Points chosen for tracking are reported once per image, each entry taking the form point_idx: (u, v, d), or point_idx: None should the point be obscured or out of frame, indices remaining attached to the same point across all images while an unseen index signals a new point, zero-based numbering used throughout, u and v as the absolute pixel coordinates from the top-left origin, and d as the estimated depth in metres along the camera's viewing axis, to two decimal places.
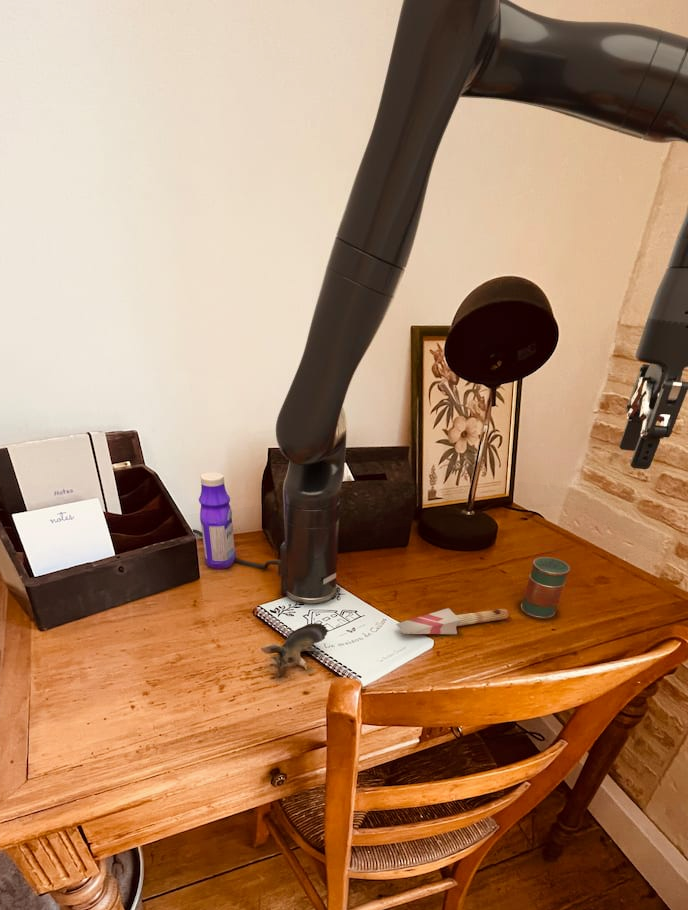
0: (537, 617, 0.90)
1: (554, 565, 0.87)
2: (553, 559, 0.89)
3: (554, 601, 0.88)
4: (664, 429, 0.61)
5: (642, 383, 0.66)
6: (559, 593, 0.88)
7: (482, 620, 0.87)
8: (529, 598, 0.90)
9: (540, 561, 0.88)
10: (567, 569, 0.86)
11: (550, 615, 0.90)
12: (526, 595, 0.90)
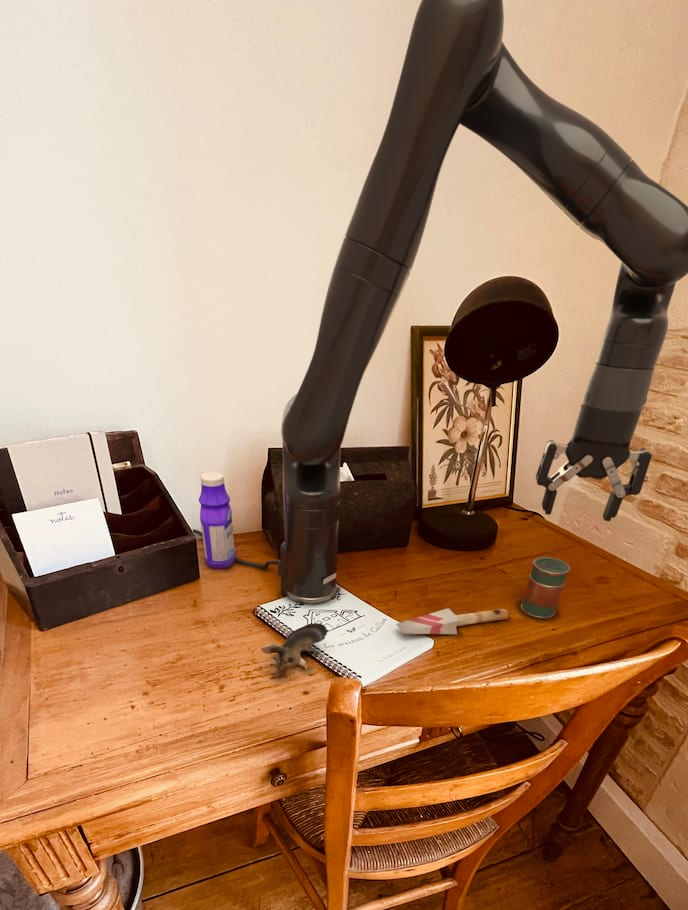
0: (537, 617, 0.90)
1: (554, 565, 0.87)
2: (553, 559, 0.89)
3: (554, 601, 0.88)
4: None
5: None
6: (559, 593, 0.88)
7: (482, 620, 0.87)
8: (529, 598, 0.90)
9: (540, 561, 0.88)
10: (567, 569, 0.86)
11: (550, 615, 0.90)
12: (526, 595, 0.90)
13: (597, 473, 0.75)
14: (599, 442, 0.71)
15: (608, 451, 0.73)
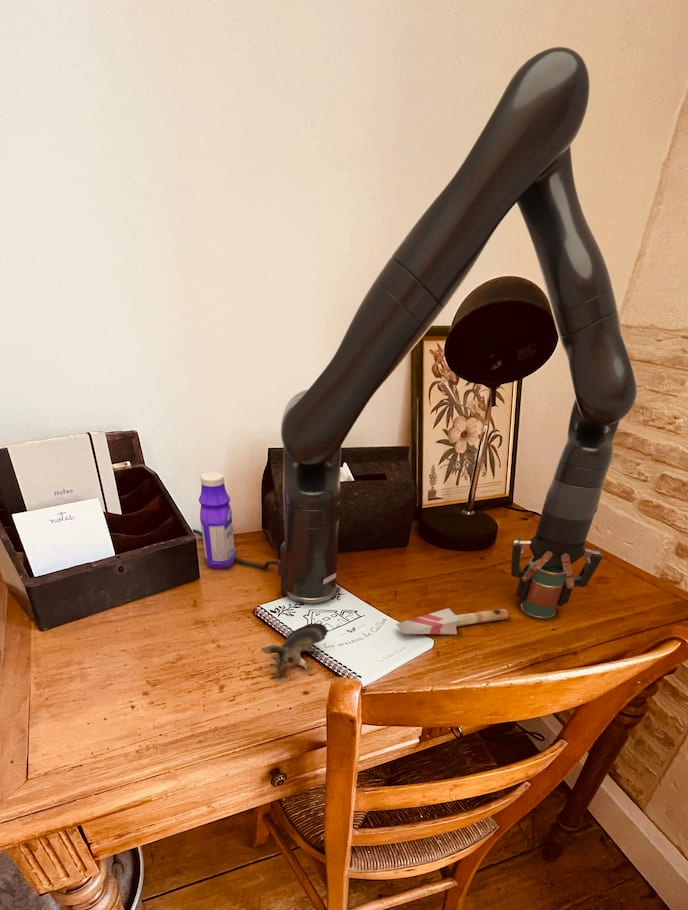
0: (537, 617, 0.90)
1: None
2: None
3: (554, 601, 0.88)
4: None
5: None
6: (559, 593, 0.88)
7: (482, 620, 0.87)
8: (529, 598, 0.90)
9: None
10: None
11: (550, 615, 0.90)
12: (526, 595, 0.90)
13: (557, 565, 0.86)
14: (556, 543, 0.81)
15: (566, 548, 0.84)
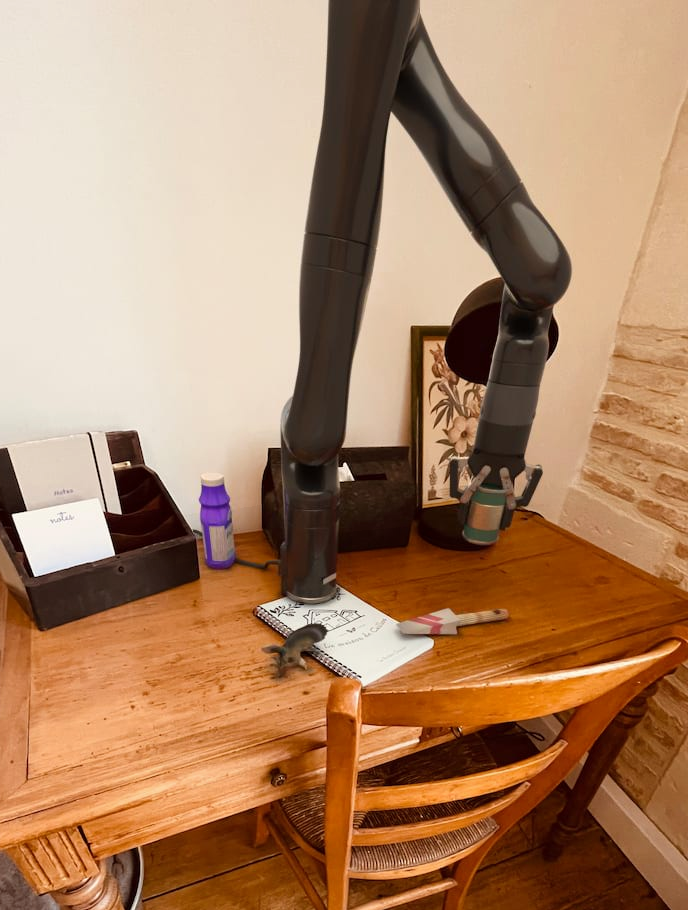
0: (478, 542, 0.84)
1: None
2: None
3: (495, 523, 0.82)
4: None
5: None
6: (500, 514, 0.82)
7: (482, 620, 0.87)
8: (469, 521, 0.83)
9: None
10: None
11: (492, 540, 0.84)
12: (466, 519, 0.84)
13: (497, 482, 0.80)
14: (493, 453, 0.75)
15: (505, 462, 0.78)
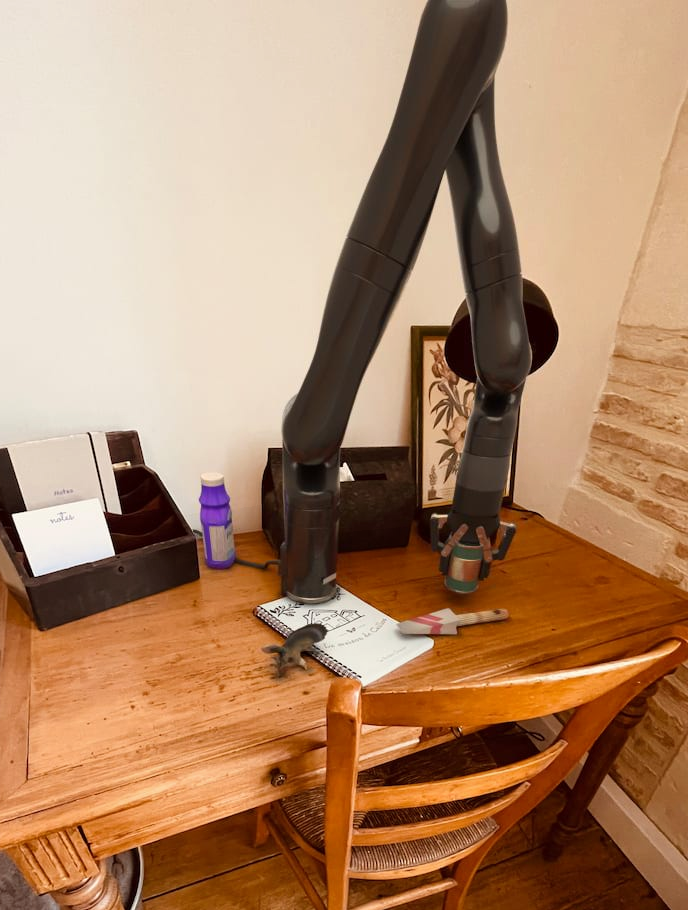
0: (458, 592, 0.90)
1: None
2: None
3: (474, 575, 0.88)
4: None
5: None
6: (478, 567, 0.87)
7: (482, 620, 0.87)
8: (449, 573, 0.89)
9: None
10: None
11: (471, 590, 0.90)
12: (447, 570, 0.90)
13: (474, 538, 0.86)
14: (469, 515, 0.81)
15: (481, 521, 0.84)
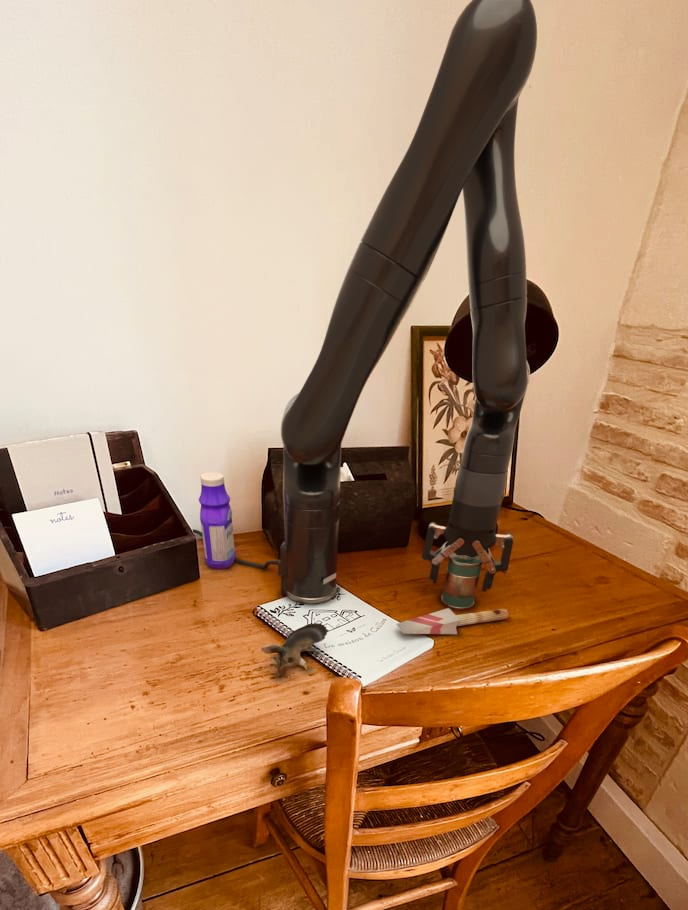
0: (455, 608, 0.92)
1: None
2: None
3: (470, 592, 0.90)
4: None
5: None
6: (474, 584, 0.89)
7: (482, 620, 0.87)
8: (446, 589, 0.91)
9: None
10: (481, 560, 0.88)
11: (468, 606, 0.92)
12: (444, 586, 0.92)
13: (470, 552, 0.87)
14: (465, 529, 0.82)
15: (477, 535, 0.85)
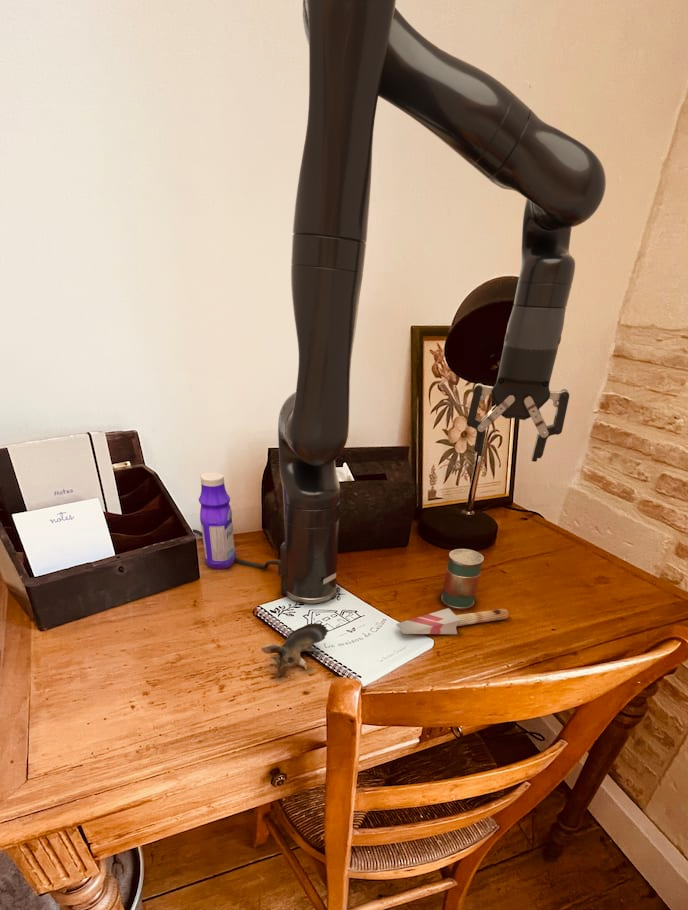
0: (455, 608, 0.92)
1: (469, 556, 0.89)
2: (469, 551, 0.90)
3: (470, 592, 0.90)
4: None
5: None
6: (474, 584, 0.89)
7: (482, 620, 0.87)
8: (446, 589, 0.91)
9: (456, 553, 0.90)
10: (481, 560, 0.88)
11: (468, 606, 0.92)
12: (444, 586, 0.92)
13: (521, 413, 0.80)
14: (517, 381, 0.75)
15: (529, 391, 0.78)
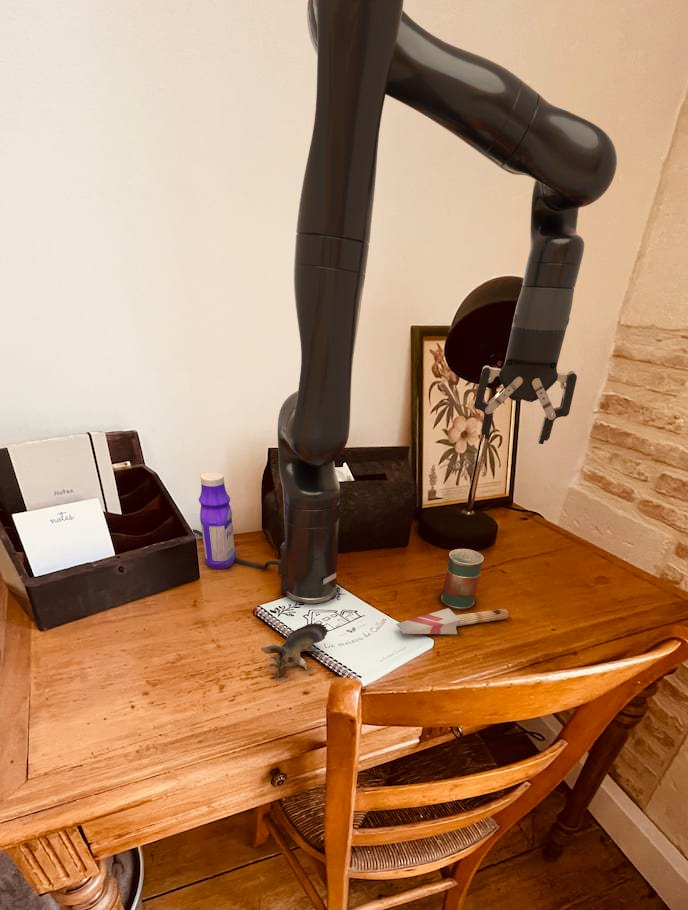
0: (455, 608, 0.92)
1: (469, 556, 0.89)
2: (469, 551, 0.90)
3: (470, 592, 0.90)
4: None
5: None
6: (474, 584, 0.89)
7: (482, 620, 0.87)
8: (446, 589, 0.91)
9: (456, 553, 0.90)
10: (481, 560, 0.88)
11: (468, 606, 0.92)
12: (444, 586, 0.92)
13: (528, 395, 0.80)
14: (526, 362, 0.76)
15: (537, 373, 0.78)
